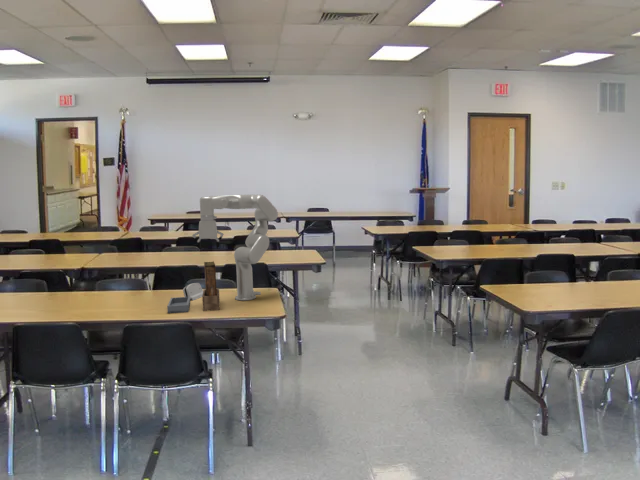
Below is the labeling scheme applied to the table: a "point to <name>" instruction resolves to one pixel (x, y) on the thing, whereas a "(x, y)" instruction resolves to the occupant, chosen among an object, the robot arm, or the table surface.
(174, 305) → the tray
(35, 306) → the table surface
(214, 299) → the frame
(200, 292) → the white gray electronic device
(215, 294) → the book
